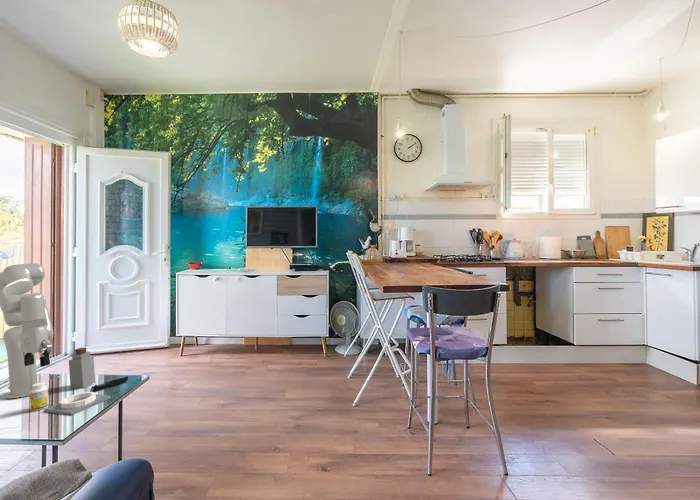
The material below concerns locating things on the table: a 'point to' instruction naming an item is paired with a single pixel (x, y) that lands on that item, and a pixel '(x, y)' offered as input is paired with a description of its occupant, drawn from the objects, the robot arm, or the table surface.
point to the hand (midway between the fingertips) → (37, 365)
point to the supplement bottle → (39, 396)
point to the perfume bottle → (81, 369)
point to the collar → (77, 403)
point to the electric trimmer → (108, 384)
